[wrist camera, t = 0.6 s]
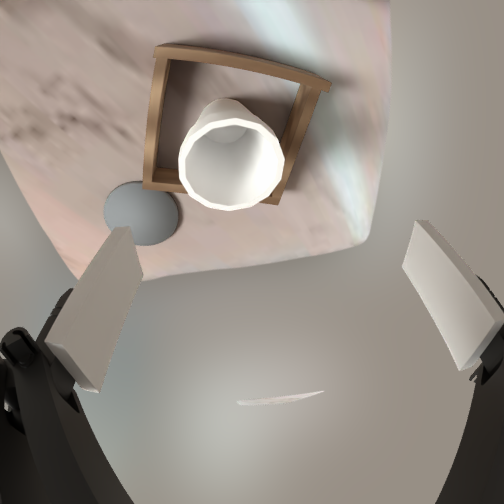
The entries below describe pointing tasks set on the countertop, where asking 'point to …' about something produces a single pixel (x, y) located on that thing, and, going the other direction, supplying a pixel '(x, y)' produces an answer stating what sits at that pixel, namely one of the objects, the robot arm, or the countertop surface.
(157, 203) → the rubber mat
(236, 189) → the foam cup
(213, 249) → the countertop surface
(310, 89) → the frame
